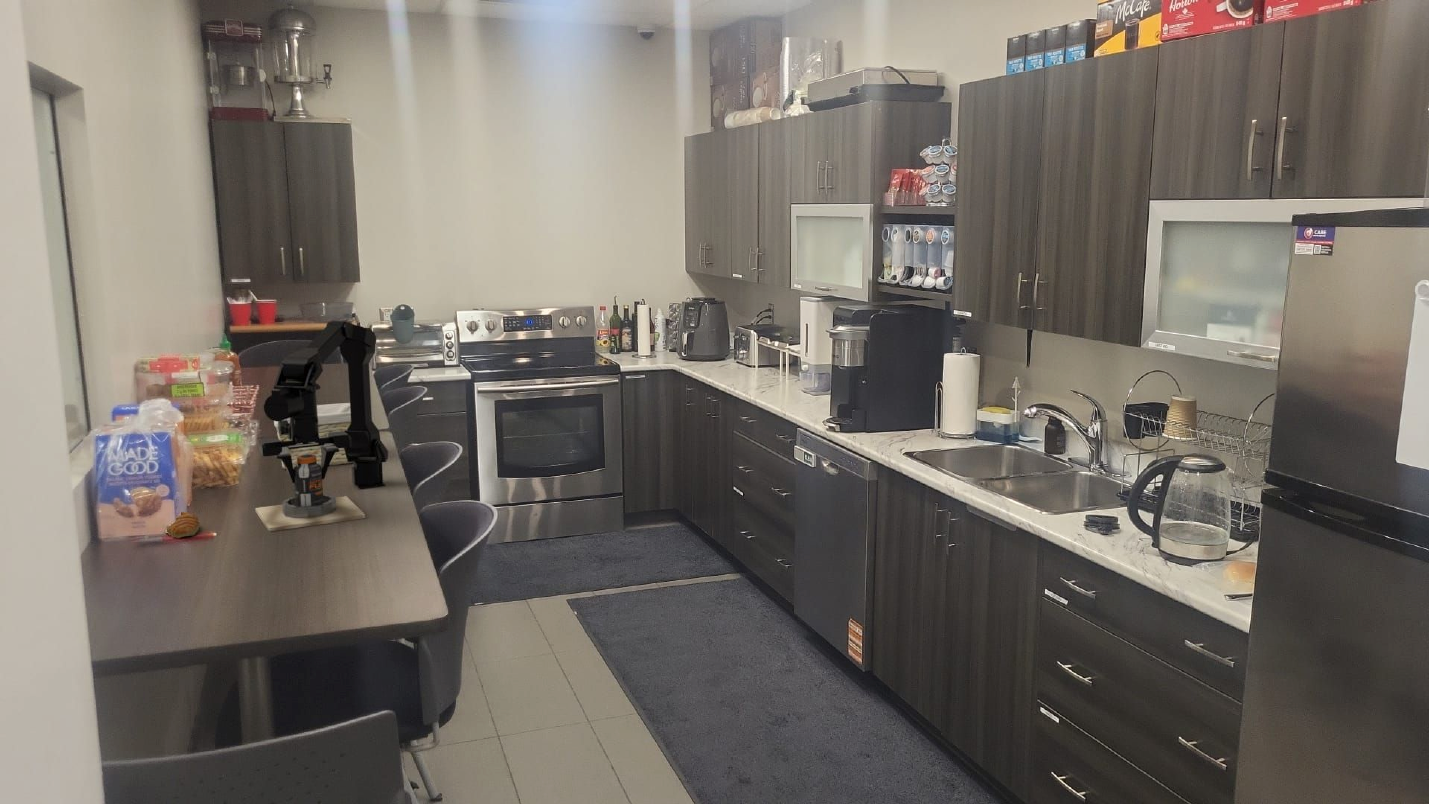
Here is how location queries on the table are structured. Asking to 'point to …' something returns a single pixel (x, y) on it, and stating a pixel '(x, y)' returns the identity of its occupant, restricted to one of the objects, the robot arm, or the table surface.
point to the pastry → (184, 525)
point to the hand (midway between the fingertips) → (308, 480)
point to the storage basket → (323, 432)
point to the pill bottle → (308, 481)
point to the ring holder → (308, 513)
